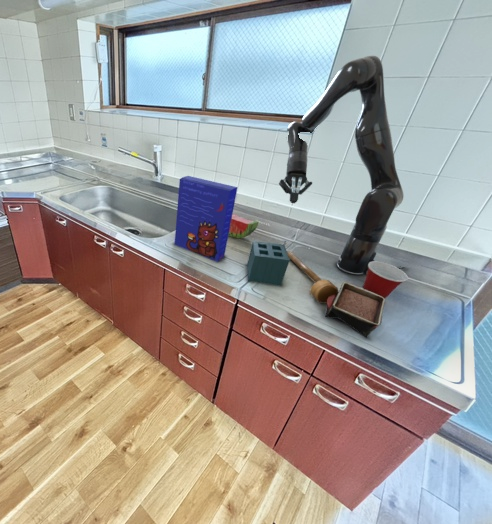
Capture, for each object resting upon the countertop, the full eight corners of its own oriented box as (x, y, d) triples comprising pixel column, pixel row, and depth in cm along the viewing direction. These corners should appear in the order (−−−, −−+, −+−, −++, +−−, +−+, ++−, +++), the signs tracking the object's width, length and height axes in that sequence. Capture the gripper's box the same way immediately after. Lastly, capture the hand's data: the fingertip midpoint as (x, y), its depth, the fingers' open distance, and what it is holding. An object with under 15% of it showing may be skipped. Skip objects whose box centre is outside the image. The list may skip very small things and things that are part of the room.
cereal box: (224, 256, 121) (237, 186, 105) (217, 261, 117) (230, 190, 101) (182, 239, 133) (188, 175, 117) (174, 244, 129) (179, 178, 113)
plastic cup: (393, 313, 92) (412, 283, 85) (353, 301, 97) (368, 272, 90) (389, 295, 100) (407, 266, 93) (353, 285, 104) (367, 257, 98)
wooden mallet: (293, 245, 121) (344, 288, 93) (285, 259, 124) (332, 305, 96) (277, 241, 120) (323, 283, 91) (269, 256, 123) (312, 301, 95)
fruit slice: (202, 225, 147) (205, 207, 142) (210, 222, 150) (213, 204, 145) (246, 244, 130) (251, 224, 125) (254, 240, 133) (259, 221, 128)
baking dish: (380, 323, 91) (393, 295, 87) (370, 347, 79) (385, 316, 75) (329, 304, 100) (339, 278, 96) (314, 323, 88) (324, 294, 84)
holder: (276, 269, 113) (284, 244, 107) (281, 285, 104) (289, 260, 98) (246, 265, 115) (252, 240, 110) (248, 280, 106) (254, 255, 100)
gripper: (282, 159, 119) (279, 196, 116) (317, 161, 116) (314, 199, 113) (277, 168, 126) (274, 204, 123) (310, 171, 124) (307, 207, 120)
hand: (293, 202), depth 118 cm, fingers closed
